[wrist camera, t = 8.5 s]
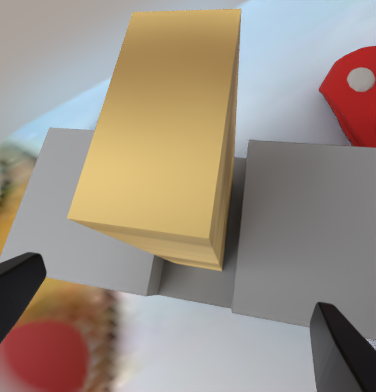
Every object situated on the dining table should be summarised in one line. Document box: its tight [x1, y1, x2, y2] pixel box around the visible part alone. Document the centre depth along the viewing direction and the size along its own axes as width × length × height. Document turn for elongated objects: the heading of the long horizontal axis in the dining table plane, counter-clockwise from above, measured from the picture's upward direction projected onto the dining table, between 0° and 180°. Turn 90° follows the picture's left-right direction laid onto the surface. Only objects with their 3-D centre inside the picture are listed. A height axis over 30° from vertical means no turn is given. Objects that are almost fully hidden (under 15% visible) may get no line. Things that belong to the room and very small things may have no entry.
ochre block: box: [67, 9, 241, 271], centre depth 12 cm, size 6×3×12 cm, turn 171°
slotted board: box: [0, 128, 376, 340], centre depth 16 cm, size 10×24×3 cm, turn 81°
